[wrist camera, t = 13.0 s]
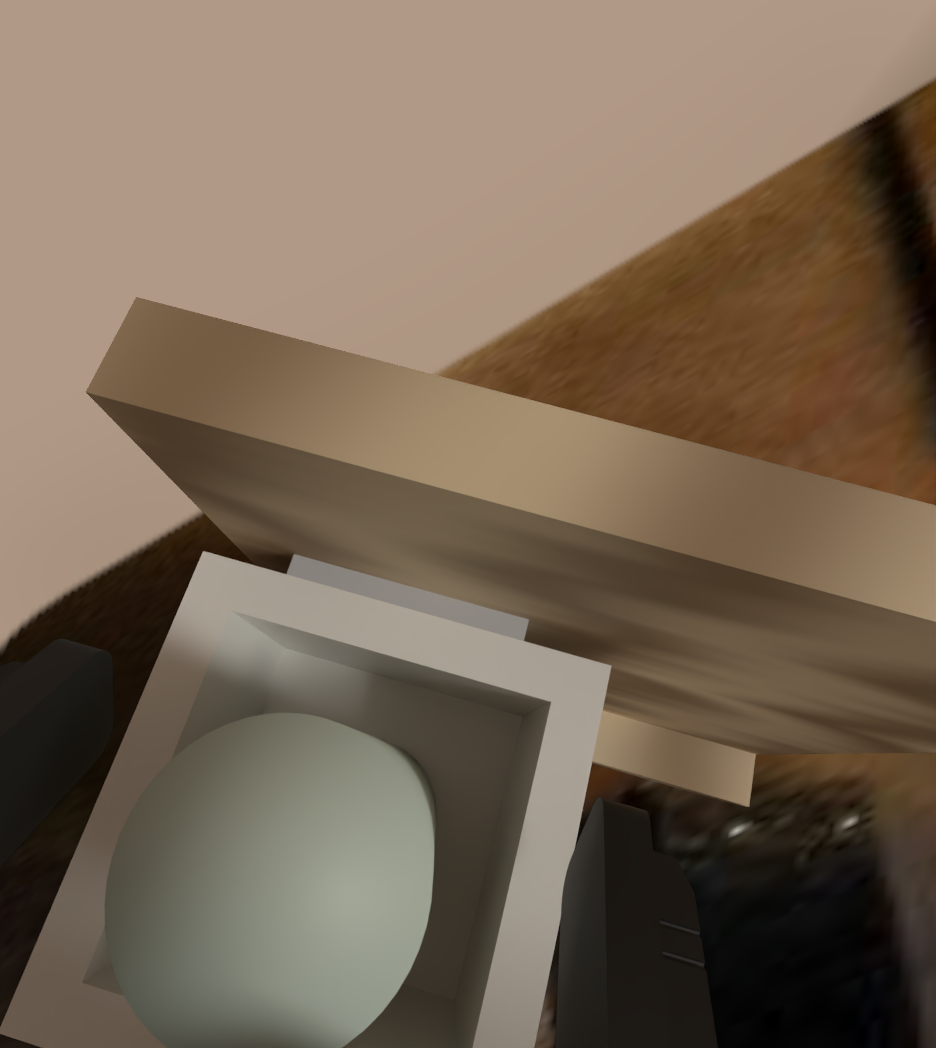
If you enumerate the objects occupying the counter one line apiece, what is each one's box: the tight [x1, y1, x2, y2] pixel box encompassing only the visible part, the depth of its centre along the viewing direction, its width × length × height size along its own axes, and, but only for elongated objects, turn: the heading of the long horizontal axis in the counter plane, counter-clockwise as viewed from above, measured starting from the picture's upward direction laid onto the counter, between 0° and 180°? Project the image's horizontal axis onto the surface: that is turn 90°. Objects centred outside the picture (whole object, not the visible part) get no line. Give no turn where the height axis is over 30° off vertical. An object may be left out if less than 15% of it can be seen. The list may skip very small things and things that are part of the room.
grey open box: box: [0, 551, 611, 1048], centre depth 15 cm, size 9×9×6 cm
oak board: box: [86, 297, 936, 807], centre depth 17 cm, size 16×4×18 cm, turn 75°
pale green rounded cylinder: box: [104, 713, 436, 1048], centre depth 12 cm, size 4×4×10 cm
